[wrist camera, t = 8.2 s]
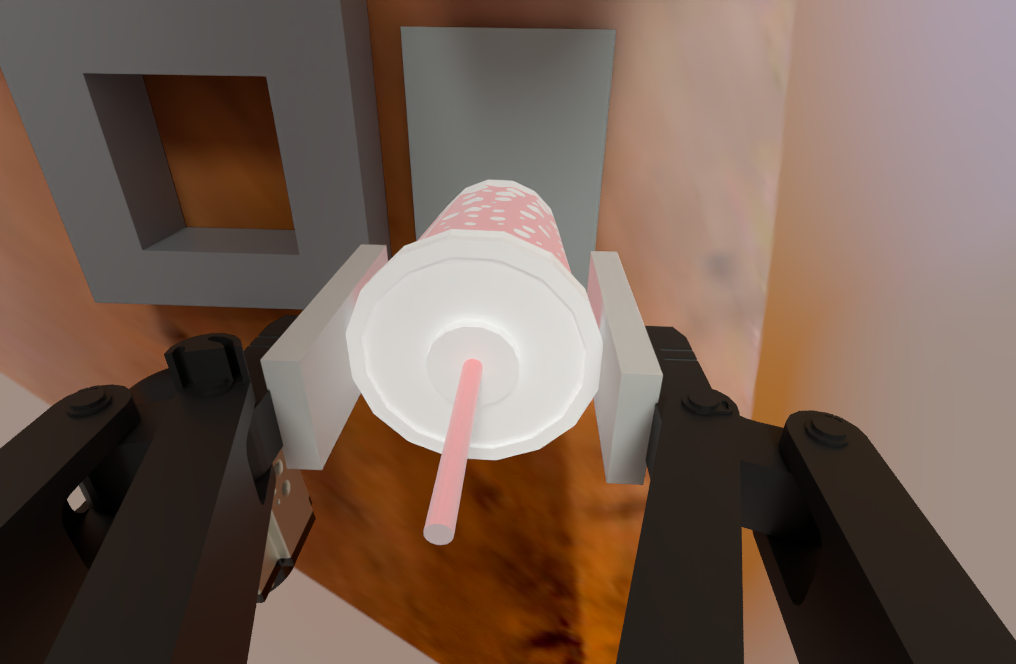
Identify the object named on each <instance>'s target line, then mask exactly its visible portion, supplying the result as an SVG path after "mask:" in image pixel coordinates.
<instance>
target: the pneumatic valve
mask: <svg viewBox="0 0 1016 664" xmlns="http://www.w3.org/2000/svg"><path fill="white" fill-rule="evenodd" d="M129 390H131V392H132V395H133V397H134V400H135V403H136V404H143V403H149V402H156V401H163V400H170V399H173V397H174V395H175V393H176V391H177V390H176V387H175V385H174V382H173V379H172V376H171V373H170V370H169V368H168V369H165V370H162V371H160V372H157V373H155V374H153V375H151V376H149V377H147V378H145V379H143V380H141V381H140V382H138V383H137V384H135V385H134V386H132V387H131V388H130V389H129ZM273 466H274V470H275V475H276V486H275V492H274V498H273V504H272V510H271V517H270V523H269V529H268V535H267V541H266V548H265V554H264V560H263V566H262V572H261V578H260V585H259V591H258V597H257V603H263V602H265V600H266V598H267V596H268V594H269V592H271V591H272V590H274V589H275V588H276V587H277V586H279V585H280V584H281V583H282V582H283V581H284V580H285V579H286V578H287V577H288V575H289V574H290V572H291V571H292V569H293V568H294V566H295V563H296V560H297V558H298V556H299V553H300V551H301V549H302V547H303V545H304V543H305V540H306V538H307V536H308V534H309V532H310V530H311V527H312V525H313V523H314V521H315V519H316V518H315V515H314V512H313V509H312V507H311V505H312V502H311V499H310V496H309V493H308V490H307V487H306V484H305V481H304V479H303V476H302V473H301V470H300V469H287V466H286V462H285V458H284V454H283V450H282V449H281V450H280V452H279V453H278V455H277V457H276V458H275V460H274V461H273Z"/></svg>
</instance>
